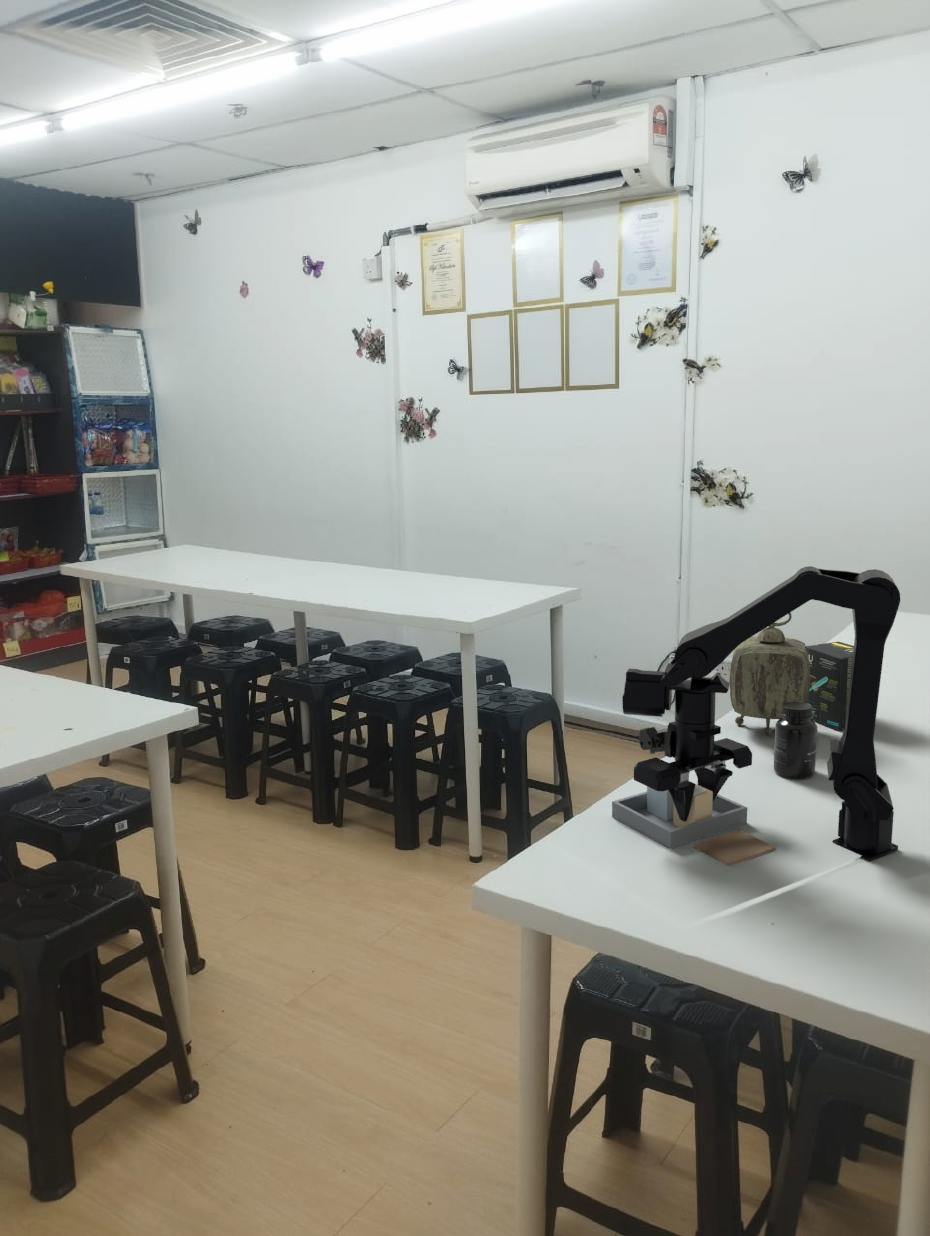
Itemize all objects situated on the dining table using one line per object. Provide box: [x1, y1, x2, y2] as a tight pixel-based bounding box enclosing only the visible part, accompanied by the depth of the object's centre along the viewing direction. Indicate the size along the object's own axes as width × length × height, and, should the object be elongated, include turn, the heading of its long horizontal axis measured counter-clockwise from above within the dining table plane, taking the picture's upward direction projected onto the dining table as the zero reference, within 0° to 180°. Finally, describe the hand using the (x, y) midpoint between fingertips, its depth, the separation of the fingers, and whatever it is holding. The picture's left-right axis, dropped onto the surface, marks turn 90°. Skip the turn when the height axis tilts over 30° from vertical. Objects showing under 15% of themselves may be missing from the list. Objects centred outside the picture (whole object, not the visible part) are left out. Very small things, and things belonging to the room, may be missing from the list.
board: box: [693, 829, 777, 867], centre depth 139 cm, size 7×9×1 cm
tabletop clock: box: [728, 612, 810, 736], centre depth 184 cm, size 14×9×25 cm, turn 72°
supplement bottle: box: [773, 702, 818, 780], centre depth 165 cm, size 7×7×12 cm
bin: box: [611, 790, 748, 850], centre depth 148 cm, size 13×15×3 cm
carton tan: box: [673, 781, 713, 827], centre depth 145 cm, size 4×4×6 cm
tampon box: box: [805, 641, 854, 731], centre depth 190 cm, size 11×9×15 cm
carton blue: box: [646, 786, 674, 821], centre depth 150 cm, size 4×4×6 cm
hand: (692, 817), depth 145 cm, fingers closed on carton tan, 3 cm apart
